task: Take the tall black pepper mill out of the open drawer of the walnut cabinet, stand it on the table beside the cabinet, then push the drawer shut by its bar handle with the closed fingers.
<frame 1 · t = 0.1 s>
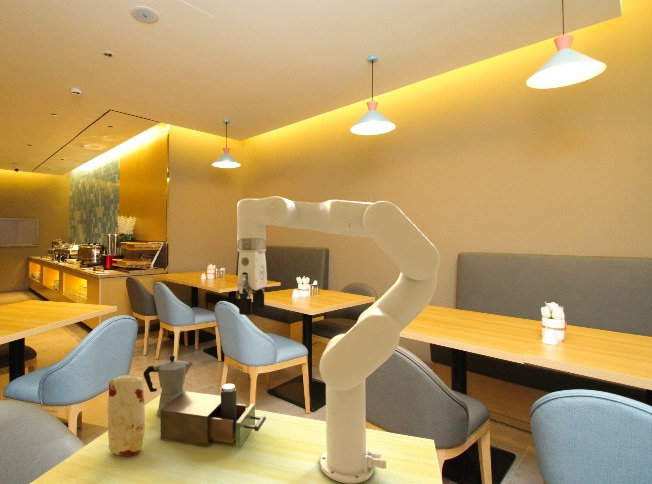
hand: (252, 310, 93), 37 cm above the table, tool pointing down, fingers open, 9 cm apart
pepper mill: (228, 429, 100), point 2 cm above the table, touching drawer
coffeepot: (169, 412, 114), on the table
cabinet: (195, 430, 103), on the table
food model: (127, 453, 93), on the table
drawer: (232, 422, 100), point 4 cm above the table, slide at 8.0 cm, touching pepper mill
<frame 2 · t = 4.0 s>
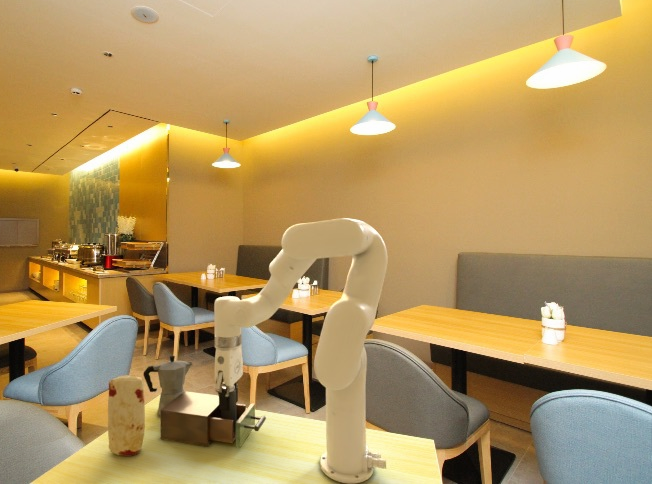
hand: (228, 405, 100), 9 cm above the table, tool pointing down, fingers closed on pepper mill, 4 cm apart
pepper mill: (228, 429, 100), point 2 cm above the table, touching drawer, gripper
everything else where it was.
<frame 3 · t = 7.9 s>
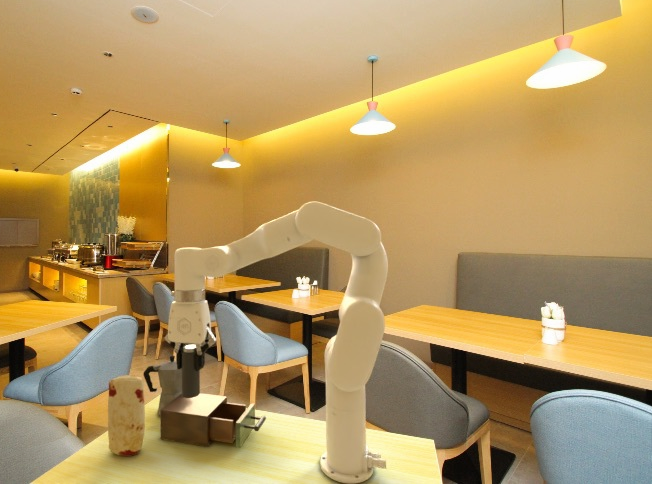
hand: (190, 367, 90), 23 cm above the table, tool pointing down, fingers closed on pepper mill, 4 cm apart
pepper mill: (190, 394, 89), point 16 cm above the table, touching gripper
drawer: (232, 422, 100), point 4 cm above the table, slide at 8.0 cm
everything else where it was.
when the fingers open (7 cm above the table, at t = 11.9 s): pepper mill stays where it is, on the table.
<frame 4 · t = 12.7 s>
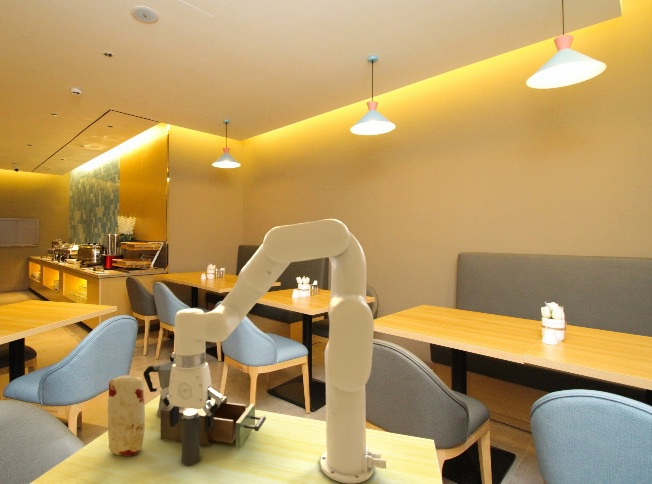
hand: (191, 426, 89), 8 cm above the table, tool pointing down, fingers open, 9 cm apart
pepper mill: (190, 459, 89), on the table
everything else where it was.
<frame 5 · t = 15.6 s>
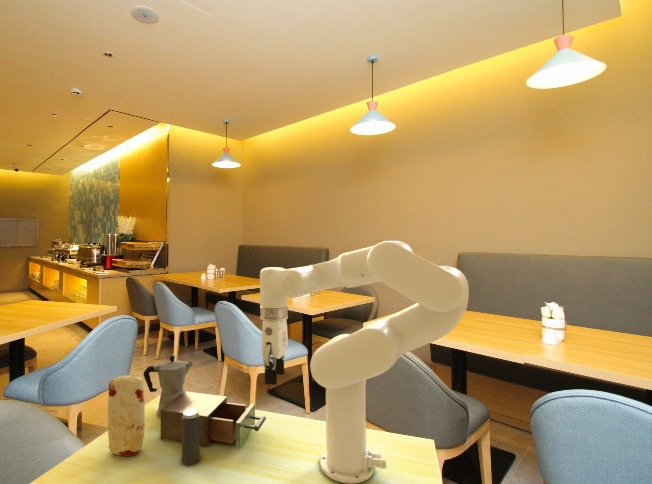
hand: (274, 378, 96), 18 cm above the table, tool pointing down, fingers open, 6 cm apart
nothing on the table moved.
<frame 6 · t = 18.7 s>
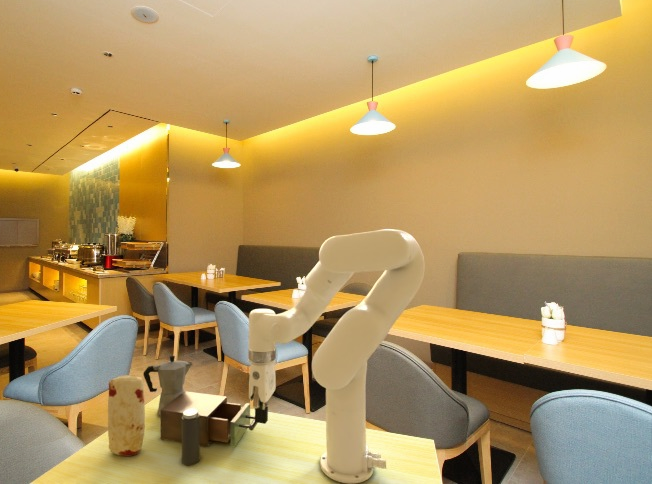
hand: (261, 421, 97), 5 cm above the table, tool pointing down, fingers closed
drawer: (227, 421, 100), point 4 cm above the table, slide at 6.5 cm, touching gripper
everything else where it was.
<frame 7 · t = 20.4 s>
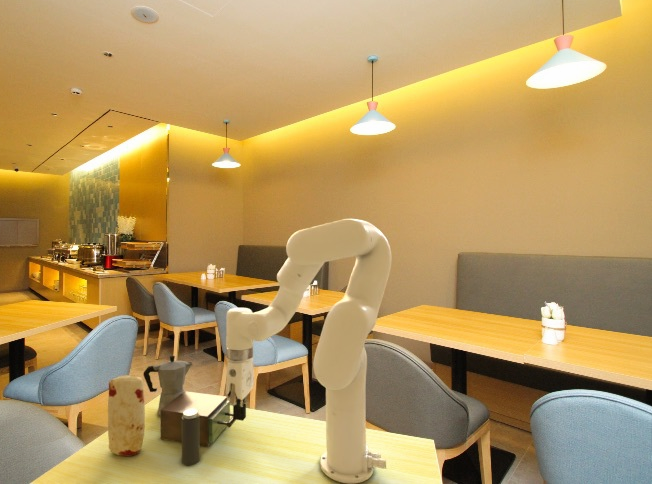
hand: (239, 418, 99), 5 cm above the table, tool pointing down, fingers closed
drawer: (207, 418, 102), point 4 cm above the table, slide at 0.0 cm, touching cabinet, gripper
everything else where it was.
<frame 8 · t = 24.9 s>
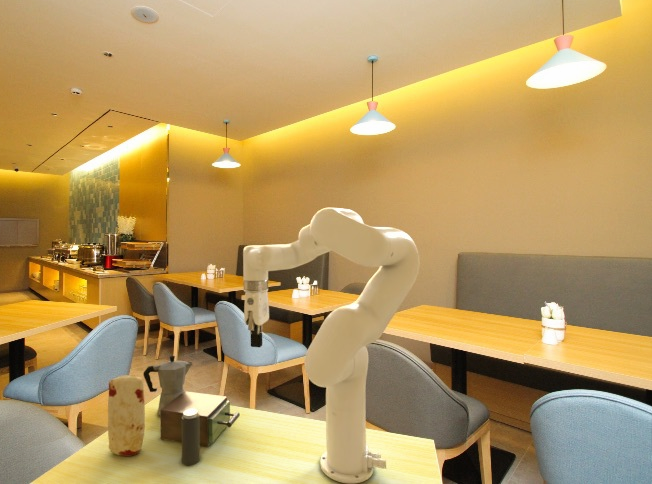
hand: (256, 346, 107), 23 cm above the table, tool pointing down, fingers closed
drawer: (207, 418, 102), point 4 cm above the table, slide at 0.0 cm
everything else where it was.
at the end: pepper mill inside the target area (0.1 cm from its centre), on the table; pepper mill tilted 0°; drawer slide at 0.0 cm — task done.
